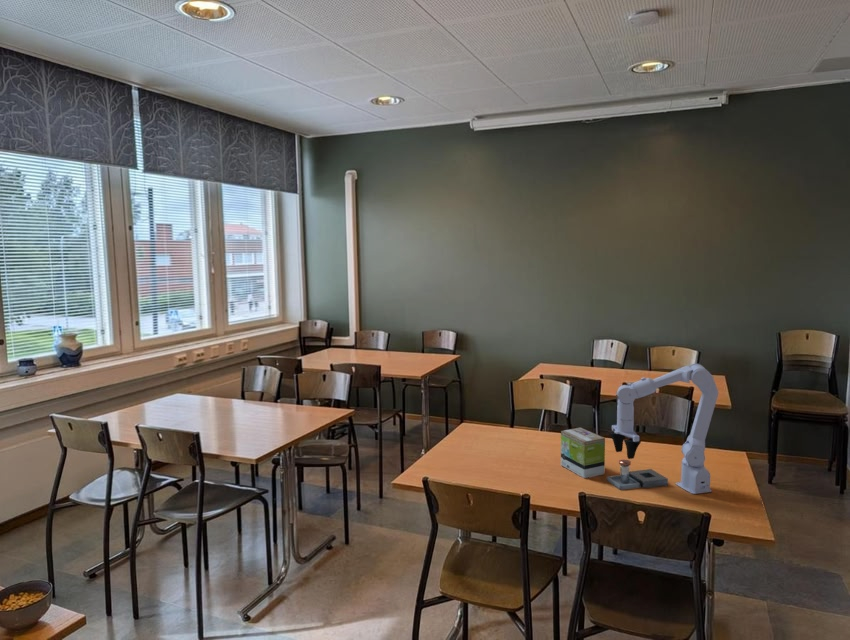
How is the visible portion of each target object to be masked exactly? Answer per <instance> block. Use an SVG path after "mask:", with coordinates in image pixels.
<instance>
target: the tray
mask: <svg viewBox="0 0 850 640" xmlns="http://www.w3.org/2000/svg"><path fill="white" fill-rule="evenodd" d="M606 481H607V482H608V483H610V484H611V485H613V486H614V487H615V488H617V489H618V490H620V491H621V490H630V489H631V490H632V489H638V488H639V489H640V488H641V487H640V483H639V482H637V481H636V480H634V479H632V478H631V477H629V483H628V484H623V483H621V474H620V475H619V474H618V475H610V476H609V475H608V476H606Z"/></svg>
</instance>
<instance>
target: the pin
mask: <svg viewBox="0 0 850 640" xmlns="http://www.w3.org/2000/svg"><path fill="white" fill-rule="evenodd" d="M618 464H619V465H620V475H621V483H623V484H628V483H629V471H630V466H631V464H632V462H631V460H630V459H620V460H618Z"/></svg>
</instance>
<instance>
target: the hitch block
mask: <svg viewBox="0 0 850 640" xmlns="http://www.w3.org/2000/svg"><path fill="white" fill-rule="evenodd" d="M629 477H631V478H632V479H634V480H636V481H637V482H639V483H640V488H642V489H648V488H649V489H650V488H657V487H665V486H668V485H669V484H668V483H669V478H667V477H666V476H664V475H662V474H660V473H659V472H657V471H655V470H653V469H652V468H649V469H640V470H639V469H638V470H632V471H630V470H629Z"/></svg>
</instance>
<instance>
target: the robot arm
mask: <svg viewBox="0 0 850 640" xmlns="http://www.w3.org/2000/svg"><path fill="white" fill-rule="evenodd" d="M690 381H691V382H690ZM677 382H681V383H682V382H683V383H686V384H690V383H692V384H693V385H695V386H696V387H697V388H698V389H699V391H700V393H701V395H700V399H699V403H698V405H697V408H696V413H695V416H694V420H693V423H692V426H691V430H690V433H689V435H688V436H687V437H686V441H685V442H684V443H683V444H682V446H681V453H682V455H683V456H684V457H683V458H682V459H681V471H680V472H681V474H680V475H681V476H680V482H675V485H676V486H678V487H680V488H682V489H683V490H685V491H686V492H688V493H690V494H692V495H696V494H703V493H711V492H712V489H711V473H710V471H709V470H708V469H707V468H706V466H705V462H706V455H705V450H706V438H707V434H708V431H709V428H710V424H711V421H712V417H713V414H714V410H715V407H716V404H717V401H718V397H719V390H718V387H717V384H716V381H715V379H714V376H713V375H712V373H711V372H710V371H709V370H708V369H706V368H705V367H704V365H702V364H700V363H692V364H690V365H685V366H683V367H680V368H677V369H675V370H672V371H670V372H668V373H665V374H663V375H660V376H659V377H655V378H650V377H644V376H643V377H640V380H637V381H635V382H627V384H622V385H621V386H619V387H618V389H617V391H616V396H617V405H616V407H617V410H616V424H612V425H611V432H609V435H610V437H611V439H612V442H613V445H614V448H615V452H616V453H619V452H620V453H621V452H623V449H624V447H623V445H624V444H625V447H626V457H627V460H633V459H635V455H636V452H637V450H638V447H639V446H640V444H641V443H642V442H641V441H642V440H640V435H638V434H637V432H636V431H635V430H634V423H635V422H634V421H635V419H634V416H635V407H634V401H636V399H640V398H642V397H643V398H644V397H646V396H649V395H652V394H654V393H655V392H656V390H657V389H658V388H661V387H664V386H668V385H671V384H674V383H677ZM625 437H626V439H625ZM627 438H628V439H627Z"/></svg>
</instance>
